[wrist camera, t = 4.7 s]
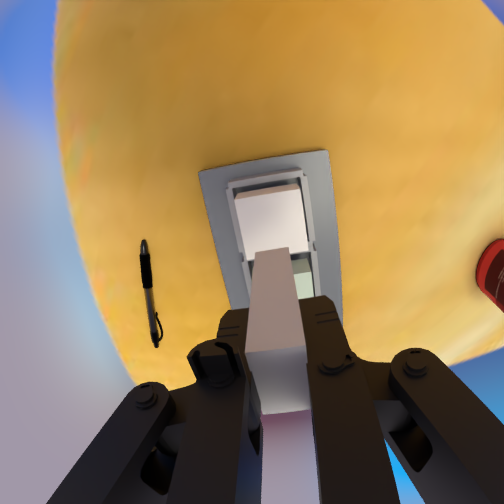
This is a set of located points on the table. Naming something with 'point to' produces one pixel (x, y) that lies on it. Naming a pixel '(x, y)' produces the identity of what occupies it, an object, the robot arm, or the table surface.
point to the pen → (149, 294)
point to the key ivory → (272, 219)
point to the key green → (302, 278)
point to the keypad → (315, 213)
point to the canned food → (492, 273)
